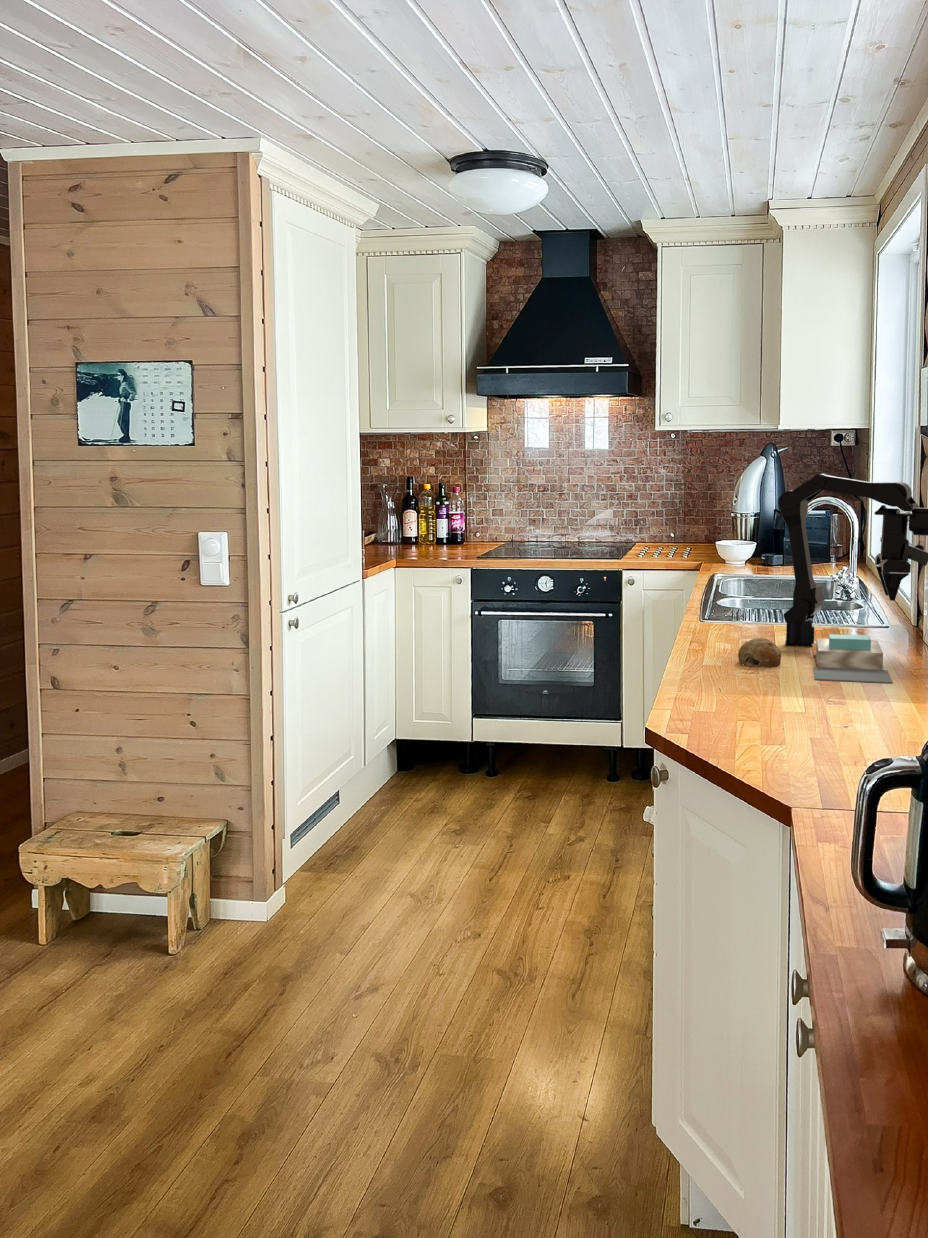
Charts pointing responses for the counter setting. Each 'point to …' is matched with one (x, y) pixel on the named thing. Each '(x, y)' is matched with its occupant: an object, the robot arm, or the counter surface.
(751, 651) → the brown rounded dome
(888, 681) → the mat
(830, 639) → the teal rectangular block
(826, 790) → the counter surface
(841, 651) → the board
